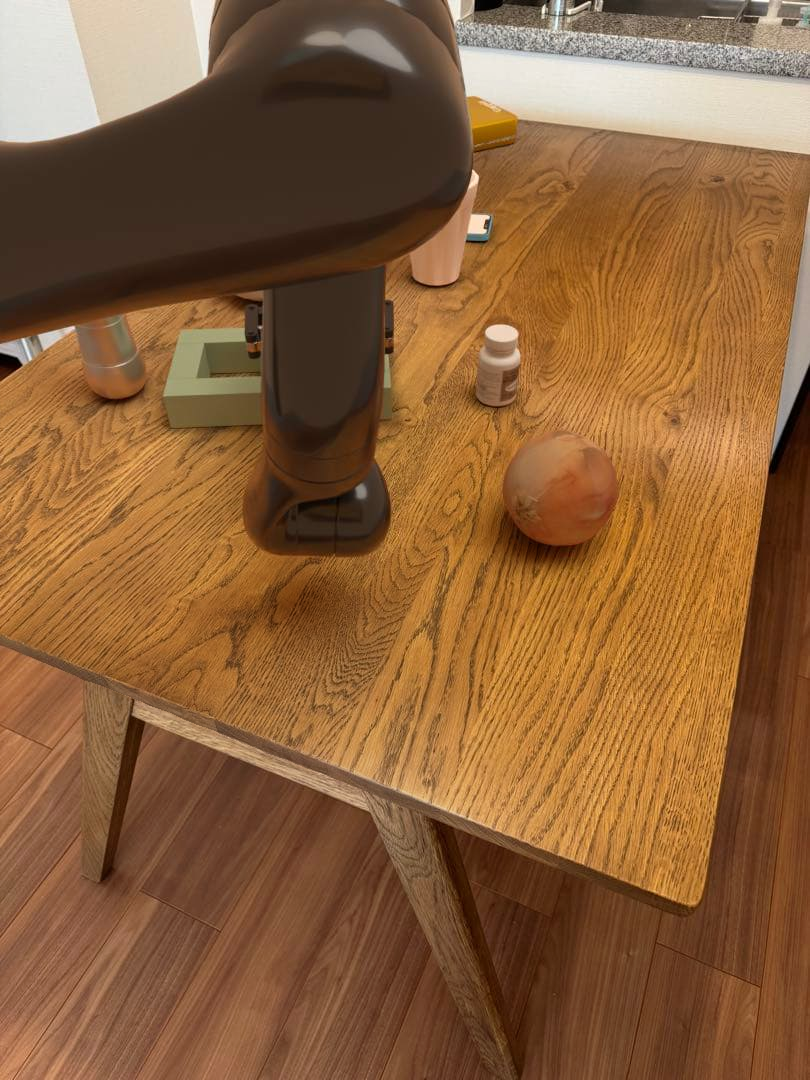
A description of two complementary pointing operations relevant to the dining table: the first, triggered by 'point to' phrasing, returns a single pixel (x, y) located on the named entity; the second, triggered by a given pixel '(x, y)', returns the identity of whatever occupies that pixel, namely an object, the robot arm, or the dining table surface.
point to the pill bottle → (498, 366)
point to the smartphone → (479, 227)
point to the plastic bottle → (111, 357)
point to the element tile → (490, 123)
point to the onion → (560, 488)
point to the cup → (445, 245)
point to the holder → (222, 381)
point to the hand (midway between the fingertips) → (321, 291)
